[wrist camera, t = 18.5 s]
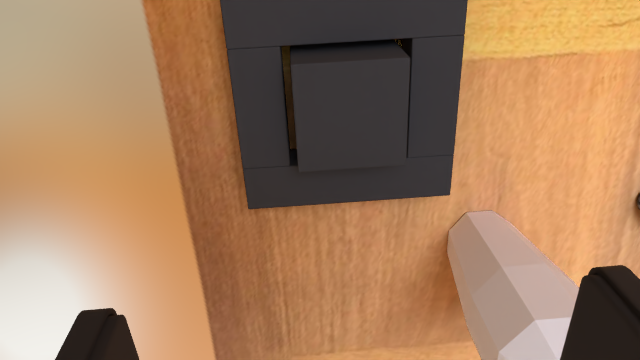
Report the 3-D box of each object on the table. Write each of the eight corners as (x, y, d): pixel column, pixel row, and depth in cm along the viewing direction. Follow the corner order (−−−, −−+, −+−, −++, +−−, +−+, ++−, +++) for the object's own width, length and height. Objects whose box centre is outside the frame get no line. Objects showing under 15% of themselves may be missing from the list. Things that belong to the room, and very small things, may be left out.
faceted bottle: (421, 263, 36) (579, 664, 16) (455, 190, 33) (694, 568, 14) (498, 279, 37) (732, 671, 18) (537, 209, 34) (866, 584, 15)
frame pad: (224, -14, 26) (218, -8, 24) (454, -27, 27) (469, -22, 24) (251, 190, 32) (248, 209, 30) (439, 177, 33) (450, 195, 30)
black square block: (289, 44, 28) (290, 64, 24) (393, 38, 28) (411, 57, 24) (297, 140, 31) (298, 173, 27) (391, 134, 31) (406, 165, 27)
